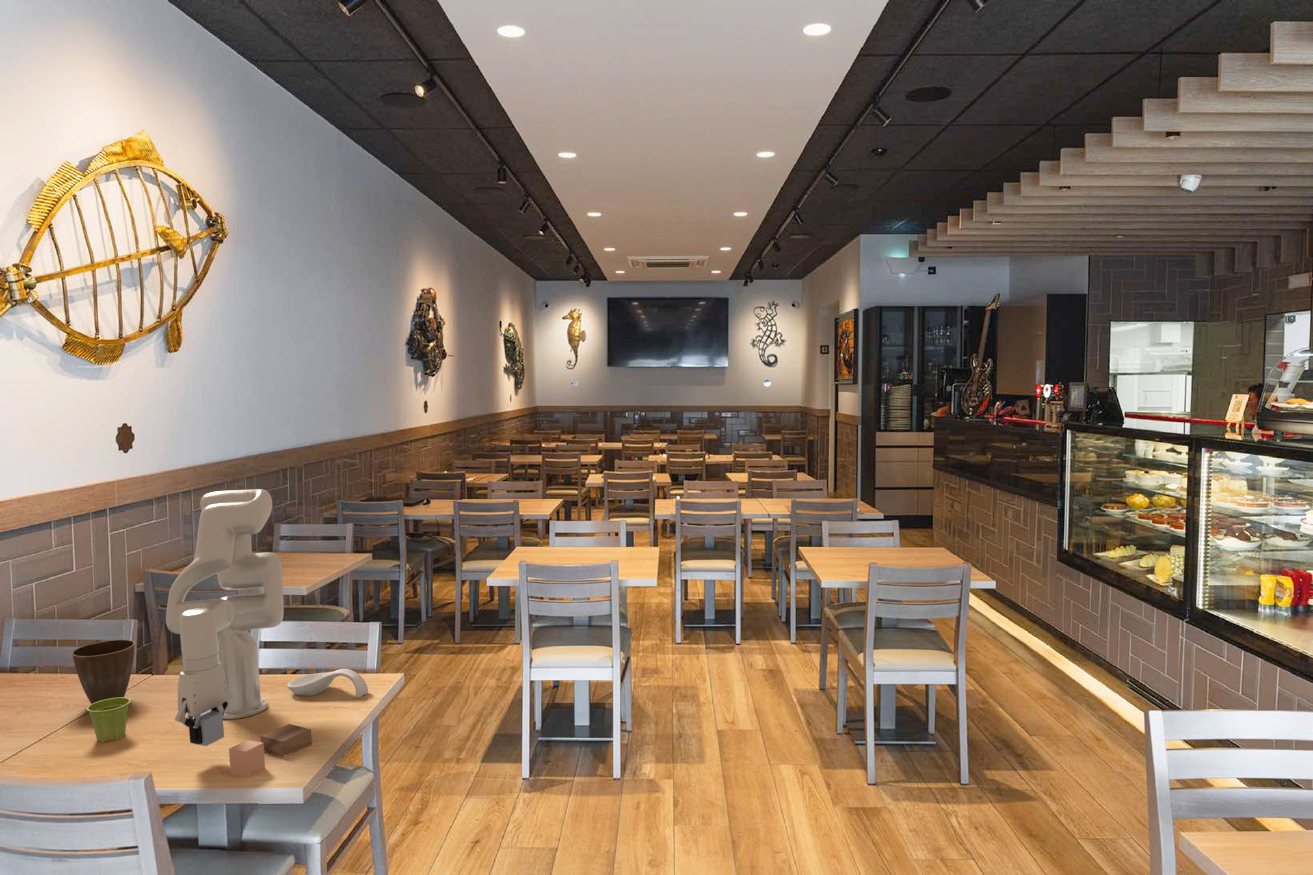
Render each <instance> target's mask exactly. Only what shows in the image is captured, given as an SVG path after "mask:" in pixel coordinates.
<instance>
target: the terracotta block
mask: <svg viewBox="0 0 1313 875" xmlns="http://www.w3.org/2000/svg"><path fill="white" fill-rule="evenodd" d="M228 754H229V757H228V758H229V769H230V770H229V771H230V772H229V773H230V776H236V777H241V778H246V779H247V778H250V777H251V776H253V775H255V774H256V773H259V772H261V771H262V770H265V769H266V763H265V762H266V761H265V752H264V745H263V743H262V742H261V741H254V740H249V739H246V740H244V741H242V742H240V743H238V744H236V745H235V746H231V747H230V748H228Z"/></svg>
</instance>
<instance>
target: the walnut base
mask: <svg viewBox="0 0 1313 875" xmlns="http://www.w3.org/2000/svg"><path fill="white" fill-rule="evenodd" d="M312 737H313V736H312V729H311V728H308V727H304V726H299V725H295V724H292V723H288V724H285V725H283V726H281V727H278V728H276V729H274V730H271V731H269V732H266V733H264V734H262V735H260V742H262V743H263V745H264V751H265V752H264V753H267V754H271V753H272V755H274V754H275V756H278V755H280V756H279V757H282V756H283V758H285V757H286V756H285V755H287V756H289V755H291V754H293V753H295V752H298V751H300V750H303V749H304V748H306V747H309V746H310V745H311V746H312V745H313V740H312V739H313V738H312ZM290 753H291V754H290ZM288 754H289V755H288ZM284 756H285V757H284Z"/></svg>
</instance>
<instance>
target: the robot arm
mask: <svg viewBox="0 0 1313 875" xmlns="http://www.w3.org/2000/svg"><path fill="white" fill-rule="evenodd" d="M272 499H273V498H272V496H271V494H270V493H269V491H268V490H266V489H262V488H253V489H251V488H250V489H232V490H217V491H212V492H209V493H205V494H204V495H203V496H202V497H201V498H200V501H199V504H200V505H199V506H200V510H201V512H200V515H199V521H198V528H197V534H196V535H197V536H196V537H197V538H196V544H195V550H194V551H195V552H194V558H193V560H192V561H191V563H189V564H188V565H187V566H186V567H185V568H184V569H182V571H181V572H180V573H179V574H178V575H177V577H176V579H175V580H174V581H173V583H172V584H171V587H170V589H169V593H168V599H167V606H166V612H165V623H166V624H165V625H166V627H167V629H168V631H169V632H171V633H173V634H178V635H179V638H180V640H179V641H180V650H181V659H182V662H181V663H182V671H181V672H180V673H179V676H178V683H177V710H178V711H177V714H176V716H175V717H174V720H175V722H178V723H180V724H182V725H184V726H185V727H186V728H188V733H189V743H190V742H191V743H190V744H192V743H195V744H194V745H197V744H201V743H202V730H201V727H199V722H200V716H201V714H202V713H204V712H206V711H208V710H212V711H217V712H222V715H223V720H225V719H226V720H232V719H233V720H234V719H242V718H246V717H251V716H254V715H257V714H259V713H261V712H263V711H265V710H266V709H267V708H268V701H267V700H266V699H264V698H261V697H262V696H261V682H260V681H261V680H260V667H259V666H260V665H259V655H258V654H259V652H258V651H259V650H258V643H257V640H256V639H255V638H254V636H253V635H252V634H251V633H250V632H249V631H250V630H252V631H253V630H261V629H272V628H275V627H278V626H280V625H281V623H282V622H283V619H284V610H285V608H284V583H283V578H284V577H283V567H282V562H281V559H280V557H279V555H278V554H276V553H275V552H269V551H268V552H253V550H252V535H254V534H255V535H256V534H258V533H260V532H261V531H262V529H263V528H264V527H265V525H266V523H267V522H268V520H269V518H270V516H271V515H272V514H271V513H272V510H273V500H272ZM216 574H217V582H218V585H219V587H220V588H221V589H223V590H227V591H228V590H229V591H240V590H251V589H262V590H263V592H259V593H242V594H234V595H233V594H231V595H227V596H223V597H220V598H211V599H199V600H185V599H186V596H187V594H188V593H189V591H190V590H192V588H193V587H194V586H196V585H197V584H199V583H200V582H202V581H204V580H206V579H208V578H210V577H212V576H215V575H216ZM186 714H187V716H186ZM193 717H194V721H193Z"/></svg>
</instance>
